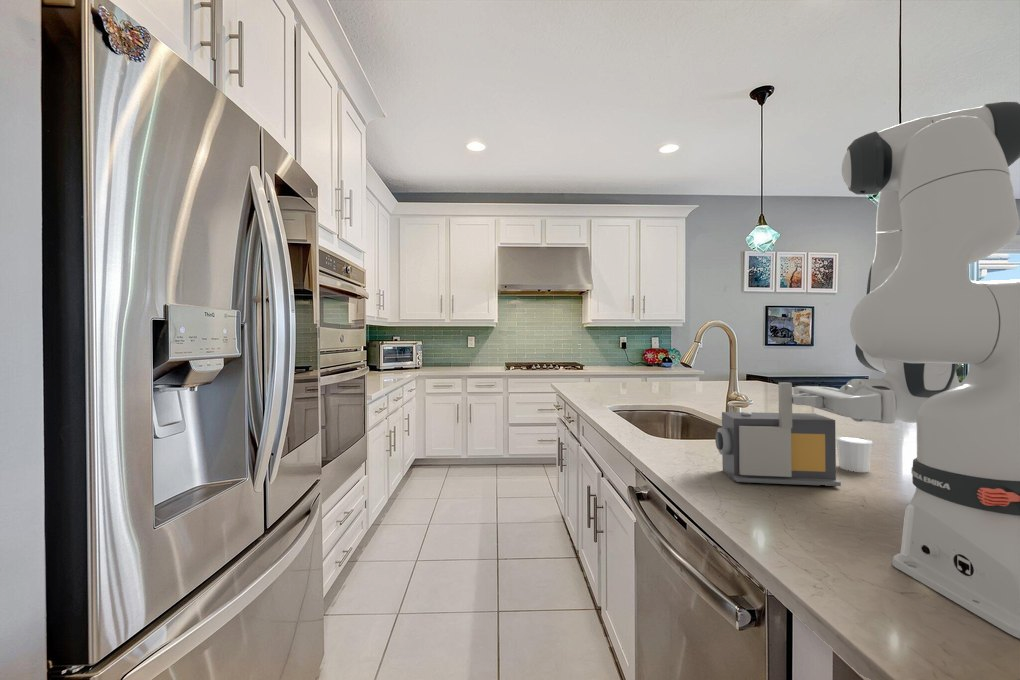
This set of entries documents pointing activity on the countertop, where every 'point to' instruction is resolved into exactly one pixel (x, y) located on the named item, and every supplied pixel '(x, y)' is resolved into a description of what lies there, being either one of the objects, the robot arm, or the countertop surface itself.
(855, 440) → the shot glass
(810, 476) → the camera housing
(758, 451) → the side door
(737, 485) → the countertop surface
